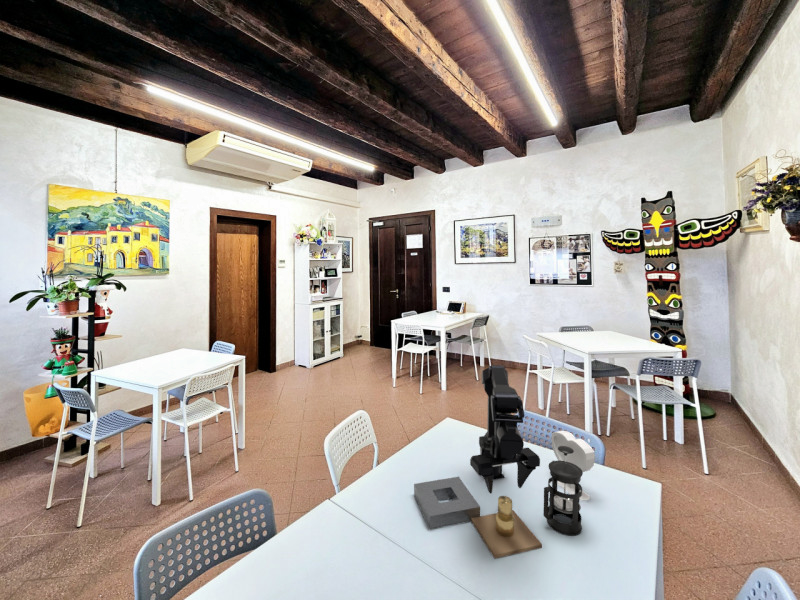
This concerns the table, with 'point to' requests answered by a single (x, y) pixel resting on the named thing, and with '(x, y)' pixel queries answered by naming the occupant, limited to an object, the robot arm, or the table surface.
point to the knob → (505, 517)
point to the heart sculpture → (573, 455)
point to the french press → (563, 495)
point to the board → (505, 545)
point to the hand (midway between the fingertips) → (504, 490)
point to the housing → (449, 511)
